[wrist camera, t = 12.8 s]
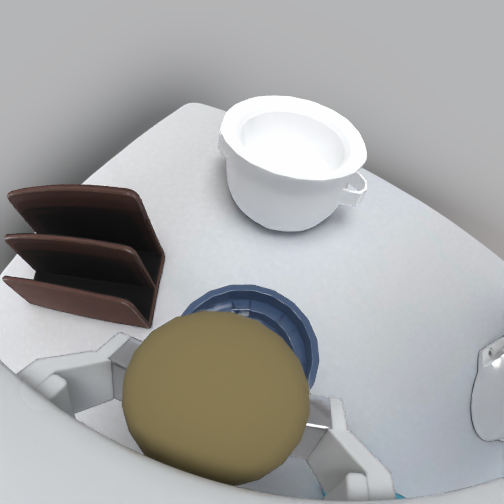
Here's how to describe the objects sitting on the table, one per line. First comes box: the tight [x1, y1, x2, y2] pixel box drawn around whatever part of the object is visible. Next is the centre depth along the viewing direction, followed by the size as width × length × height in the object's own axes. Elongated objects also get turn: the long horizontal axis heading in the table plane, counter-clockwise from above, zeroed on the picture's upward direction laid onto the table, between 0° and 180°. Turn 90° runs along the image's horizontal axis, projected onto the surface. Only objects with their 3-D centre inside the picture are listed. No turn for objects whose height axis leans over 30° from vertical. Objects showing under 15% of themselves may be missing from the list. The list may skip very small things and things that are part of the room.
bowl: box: [181, 285, 319, 391], centre depth 28 cm, size 14×14×5 cm
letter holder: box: [2, 184, 165, 328], centre depth 27 cm, size 10×20×14 cm, turn 87°
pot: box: [218, 96, 367, 231], centre depth 37 cm, size 22×17×12 cm
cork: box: [122, 311, 310, 486], centre depth 10 cm, size 6×6×11 cm
